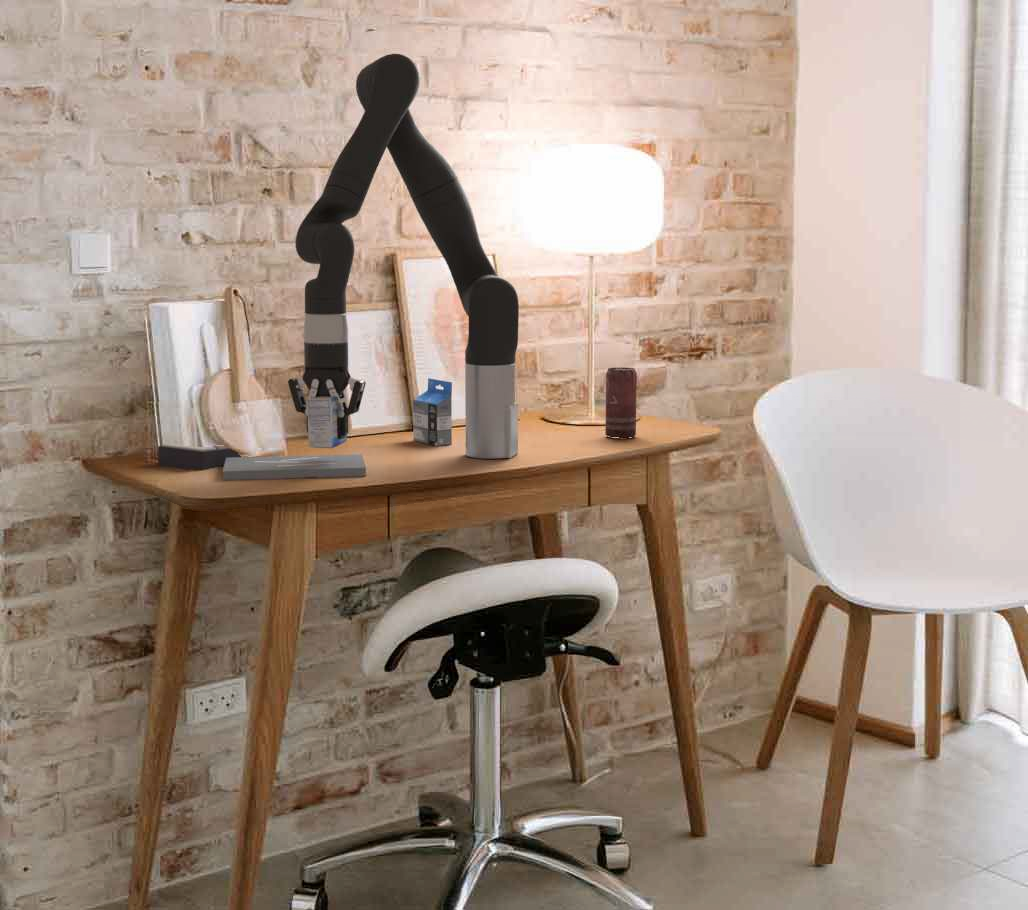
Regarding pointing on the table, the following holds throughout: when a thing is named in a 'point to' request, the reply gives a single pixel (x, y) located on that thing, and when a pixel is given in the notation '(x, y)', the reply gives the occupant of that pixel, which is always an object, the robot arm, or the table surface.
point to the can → (621, 402)
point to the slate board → (293, 467)
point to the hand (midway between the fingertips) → (327, 437)
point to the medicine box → (323, 422)
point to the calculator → (194, 456)
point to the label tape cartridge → (433, 414)
